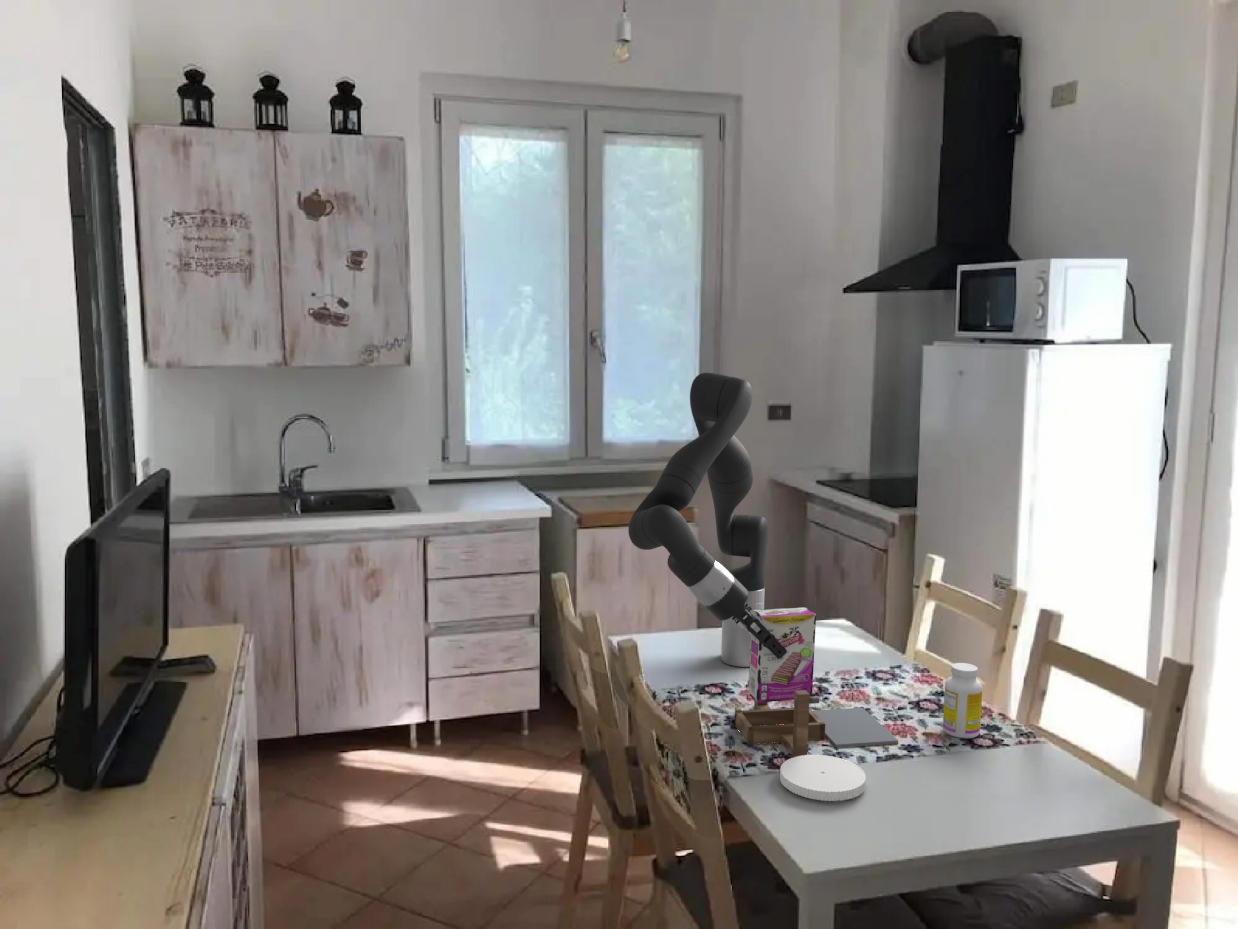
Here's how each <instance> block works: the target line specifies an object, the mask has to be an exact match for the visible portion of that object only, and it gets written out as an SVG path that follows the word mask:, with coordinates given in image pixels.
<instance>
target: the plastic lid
mask: <svg viewBox="0 0 1238 929" xmlns="http://www.w3.org/2000/svg"><path fill="white" fill-rule="evenodd" d="M779 780H780V783H781V784H782V785H783V787H785V789H787V790H789V792H791V793H792V794H795V795H798V796H801V797H804V798H806V799H807V798H808V799H812V800H817V801H824V802H827V801H828V802H831V801H832V802H838V801H846V800H850V799H851V800H852V799H855V798H857V797H859V796H860V795H862V794H863V793H864V791H865V790H866V788H867V787H866V786H867V775H866V772H865V771H864V770H863V769H862V768H861V767H860V766H859V765H857V764H855V763H854V762H851V761H849V760H846V759H843V758H840V757H836V756H832V755H827V754H826V755H825V754H823V755H821V754H807V755H804V756H803V755H802V756H798V757H797V756H796V757H793V756H792V757H791V758H788V759H787V760H785V761H784V762H782V764H781V765H780V767H779Z"/></svg>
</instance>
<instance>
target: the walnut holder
mask: <svg viewBox="0 0 1238 929" xmlns="http://www.w3.org/2000/svg"><path fill="white" fill-rule="evenodd" d="M753 700H754V699H753ZM793 701H794V702H793V707H782V708H781V707H779V708H771V707H770V706H769V705H768V702H760V703H758V702H756V701H755V700H754V703H753V706H754V707H753V709H747V710H734V727H735V726H736V727H735V728H737V729H738V730H739V731H740V733H741V734H742V735H741V734H740V733H739V734H740V735H741V737H742V736H743V737H744V738H743V737H742V738H743V740H746V741H745V742H746V743H748V744H751V745H759V744H758V743H761V744H760V745H763V744H762V743H766V744H777V742H782V743H781V744H782V745H783V746H784V747H785V748H786V751H788V752H789V754H790V755H791V756H792V758H793V757H796V756H797V757H798V756H802V755H803V756H804V755H808V746H809V745H808V744H809V742H810V741H812V742H813V741H825V739H826V736H825V723H824V722H823V721H822V720H821V719H820V718H819V717H818V716H817V715H816V714H815V713H814V712H813V711H814V710H813V709H812V708H811V707H810V705H812V704H819V703H820V697H819V696H818V695H815V696H812V697H810V694H809V693H808V692H807V691H806V690H799V691H795V697H794V700H793ZM754 708H755V709H756V710H755V709H754ZM776 724H777V725H776ZM779 724H784V725H779ZM760 725H761V726H760ZM763 725H768V726H763ZM737 729H736V730H737ZM738 730H737V731H738ZM739 731H738V732H739ZM772 742H773V743H772ZM774 742H775V743H774ZM748 744H747V745H748Z"/></svg>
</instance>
